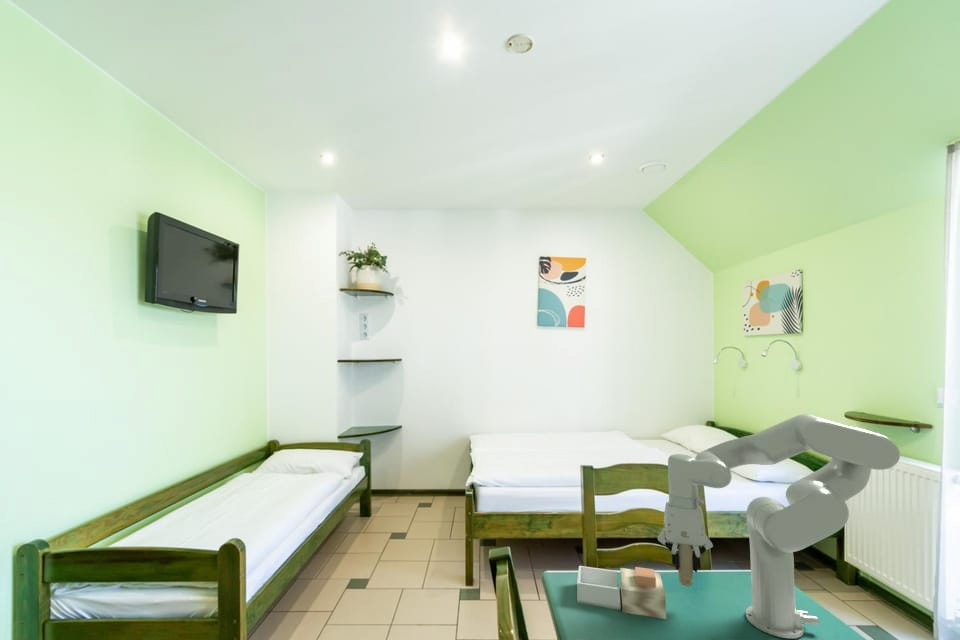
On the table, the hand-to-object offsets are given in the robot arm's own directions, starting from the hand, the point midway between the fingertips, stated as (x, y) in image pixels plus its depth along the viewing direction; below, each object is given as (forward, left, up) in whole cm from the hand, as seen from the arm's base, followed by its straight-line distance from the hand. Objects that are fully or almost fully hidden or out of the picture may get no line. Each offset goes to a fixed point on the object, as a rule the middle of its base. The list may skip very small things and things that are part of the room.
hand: (685, 567), depth 119 cm
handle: (0, 0, -4) cm, 4 cm away
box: (+23, 0, -11) cm, 26 cm away
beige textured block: (+12, 0, -11) cm, 16 cm away
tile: (+11, 0, -5) cm, 12 cm away
